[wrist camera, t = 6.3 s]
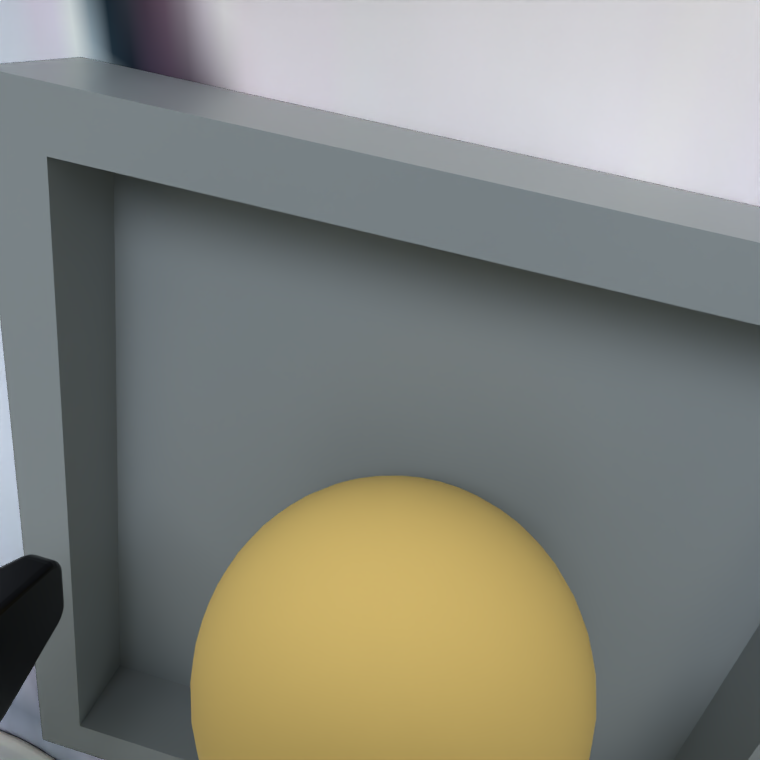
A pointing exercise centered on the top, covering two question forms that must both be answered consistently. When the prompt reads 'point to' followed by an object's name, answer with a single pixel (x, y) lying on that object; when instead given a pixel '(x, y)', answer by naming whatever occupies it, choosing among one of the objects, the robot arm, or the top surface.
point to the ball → (393, 635)
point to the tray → (368, 384)
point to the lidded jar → (19, 749)
